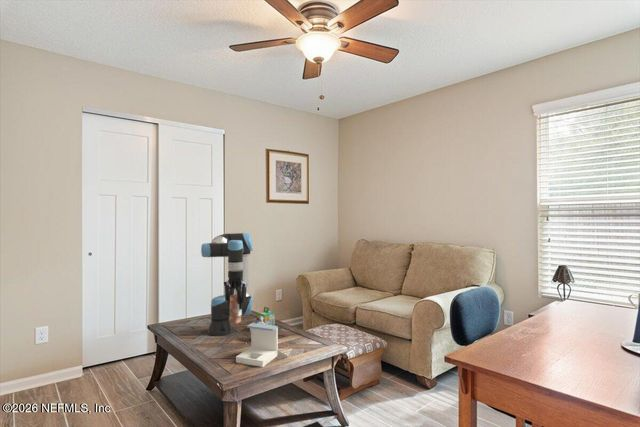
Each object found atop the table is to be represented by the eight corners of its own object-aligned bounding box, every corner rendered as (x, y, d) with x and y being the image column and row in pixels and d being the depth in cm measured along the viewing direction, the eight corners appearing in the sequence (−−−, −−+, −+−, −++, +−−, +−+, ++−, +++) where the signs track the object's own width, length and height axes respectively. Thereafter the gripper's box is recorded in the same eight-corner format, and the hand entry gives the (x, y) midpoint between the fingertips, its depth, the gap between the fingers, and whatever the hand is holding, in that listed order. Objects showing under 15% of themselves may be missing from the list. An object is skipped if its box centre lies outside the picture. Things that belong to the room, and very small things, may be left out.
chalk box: (255, 329, 240) (255, 307, 240) (266, 326, 247) (266, 305, 247) (264, 332, 234) (264, 310, 234) (275, 329, 241) (275, 307, 241)
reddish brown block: (230, 322, 186) (229, 295, 186) (234, 320, 189) (234, 294, 189) (236, 323, 184) (236, 296, 184) (241, 321, 188) (240, 294, 188)
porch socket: (235, 362, 187) (235, 331, 187) (252, 351, 202) (252, 322, 202) (262, 367, 182) (262, 335, 182) (277, 355, 196) (277, 326, 196)
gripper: (217, 270, 187) (217, 315, 187) (244, 272, 180) (245, 318, 180) (226, 268, 194) (226, 311, 194) (253, 269, 187) (253, 315, 187)
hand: (235, 315), depth 187 cm, fingers closed on reddish brown block, 4 cm apart
